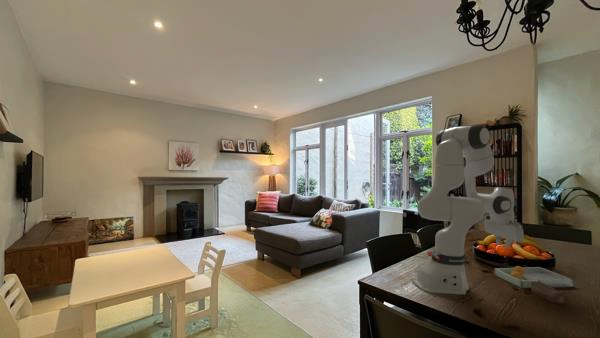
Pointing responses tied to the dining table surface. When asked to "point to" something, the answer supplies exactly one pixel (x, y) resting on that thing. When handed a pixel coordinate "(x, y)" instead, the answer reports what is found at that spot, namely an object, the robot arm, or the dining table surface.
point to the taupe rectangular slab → (547, 292)
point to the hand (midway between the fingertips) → (503, 245)
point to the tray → (512, 278)
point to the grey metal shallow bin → (546, 277)
